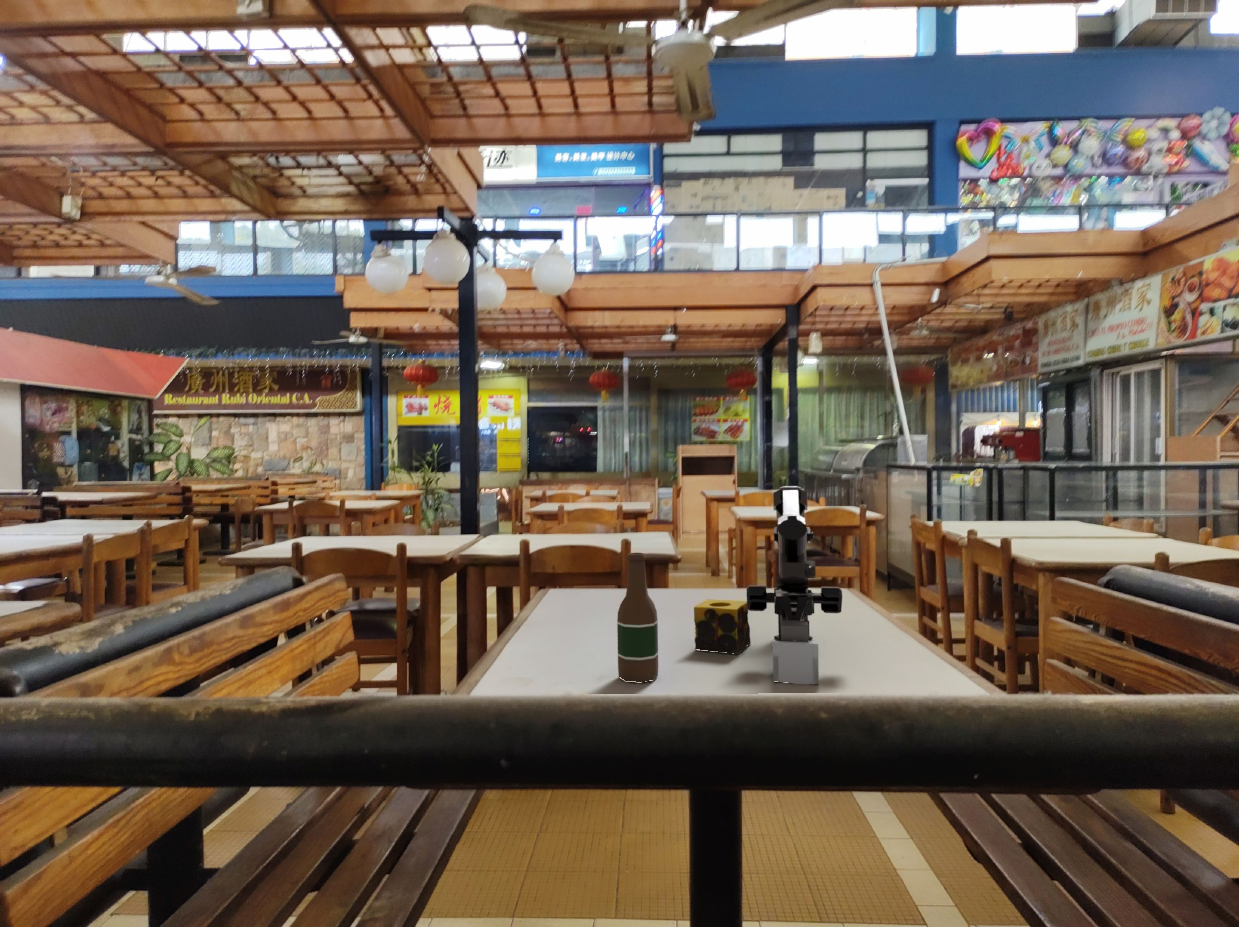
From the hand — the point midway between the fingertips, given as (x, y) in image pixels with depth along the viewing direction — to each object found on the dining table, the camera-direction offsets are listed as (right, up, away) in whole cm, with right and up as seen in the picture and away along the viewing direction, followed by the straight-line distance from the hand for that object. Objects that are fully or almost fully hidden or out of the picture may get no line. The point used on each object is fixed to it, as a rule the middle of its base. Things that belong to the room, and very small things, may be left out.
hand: (794, 635), depth 140 cm
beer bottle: (-31, -8, -2) cm, 32 cm away
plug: (-1, -7, -3) cm, 8 cm away
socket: (0, -7, -3) cm, 8 cm away
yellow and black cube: (-11, -8, +20) cm, 24 cm away
